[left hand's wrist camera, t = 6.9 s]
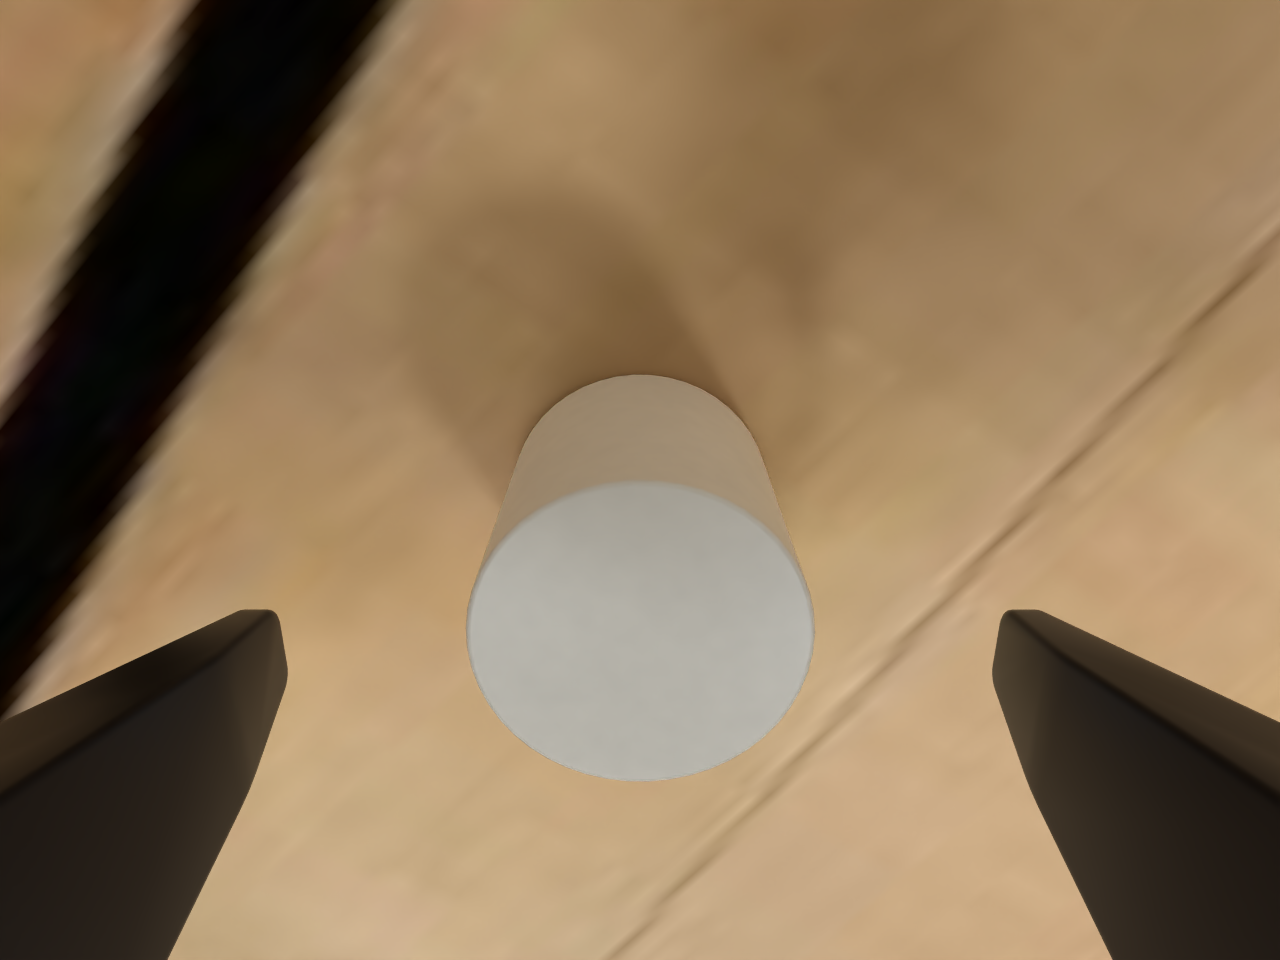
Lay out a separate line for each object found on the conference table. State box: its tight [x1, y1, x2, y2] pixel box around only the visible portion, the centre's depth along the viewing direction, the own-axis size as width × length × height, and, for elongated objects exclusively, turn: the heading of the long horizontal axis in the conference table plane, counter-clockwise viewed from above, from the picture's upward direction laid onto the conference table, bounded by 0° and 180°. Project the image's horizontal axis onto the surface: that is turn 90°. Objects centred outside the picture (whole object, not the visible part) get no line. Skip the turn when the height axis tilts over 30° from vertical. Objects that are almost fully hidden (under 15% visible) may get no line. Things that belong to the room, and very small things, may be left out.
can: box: [466, 375, 815, 781], centre depth 14 cm, size 4×4×5 cm
